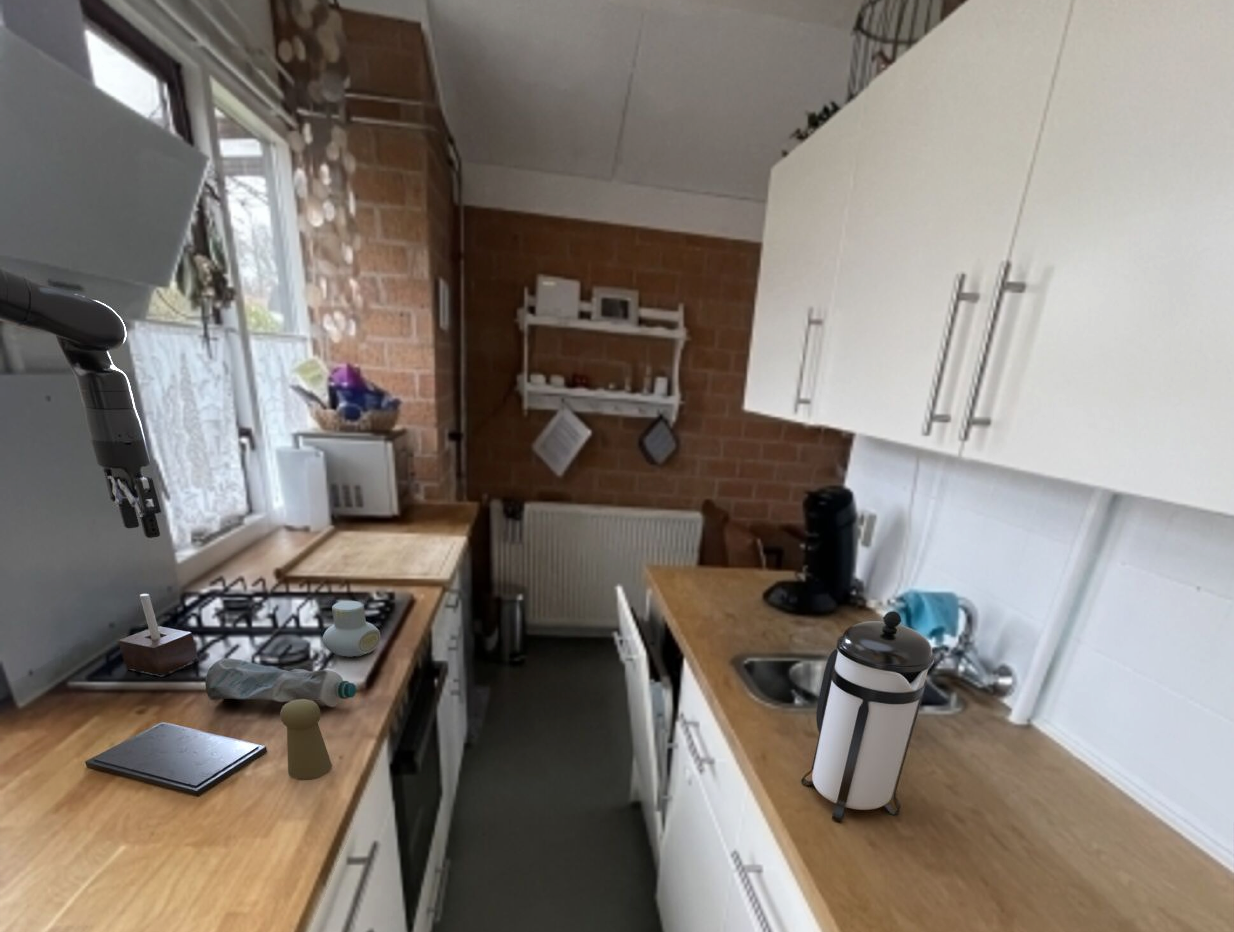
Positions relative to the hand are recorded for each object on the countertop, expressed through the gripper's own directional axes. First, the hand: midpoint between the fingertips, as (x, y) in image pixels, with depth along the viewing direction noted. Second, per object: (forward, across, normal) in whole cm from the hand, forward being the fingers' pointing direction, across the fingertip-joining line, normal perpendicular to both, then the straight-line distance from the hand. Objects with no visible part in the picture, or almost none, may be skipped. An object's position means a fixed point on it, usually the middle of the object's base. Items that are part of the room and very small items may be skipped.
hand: (142, 532), depth 125 cm
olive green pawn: (+24, +55, -5) cm, 60 cm away
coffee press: (+24, +119, +45) cm, 130 cm away
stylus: (+24, +4, -3) cm, 25 cm away
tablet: (+24, +39, -16) cm, 49 cm away
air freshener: (+24, +22, +25) cm, 41 cm away
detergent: (+24, +33, +4) cm, 41 cm away
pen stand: (+24, +4, -3) cm, 25 cm away
